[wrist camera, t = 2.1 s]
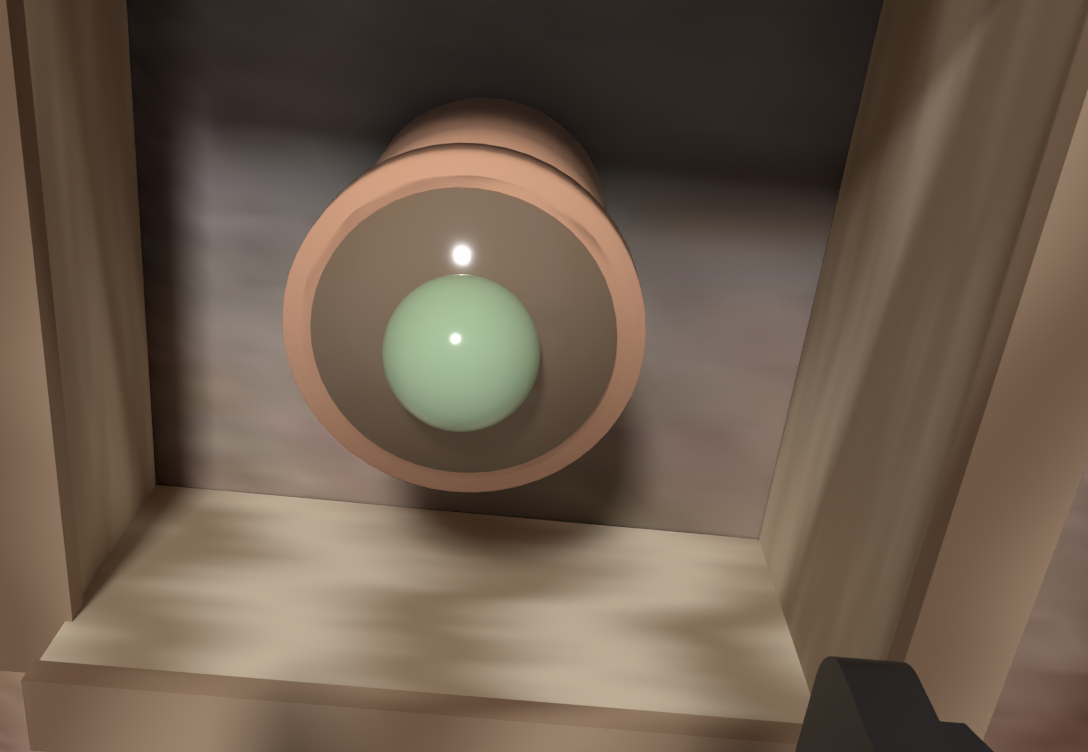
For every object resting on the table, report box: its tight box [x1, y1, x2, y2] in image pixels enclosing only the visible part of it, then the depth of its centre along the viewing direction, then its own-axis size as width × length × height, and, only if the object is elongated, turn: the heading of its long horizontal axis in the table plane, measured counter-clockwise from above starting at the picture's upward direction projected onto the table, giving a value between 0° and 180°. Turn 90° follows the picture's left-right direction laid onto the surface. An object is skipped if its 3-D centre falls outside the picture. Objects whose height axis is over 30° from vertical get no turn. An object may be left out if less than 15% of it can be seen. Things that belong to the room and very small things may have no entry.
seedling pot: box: [283, 98, 646, 492], centre depth 20 cm, size 6×6×9 cm
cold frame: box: [0, 0, 1088, 752], centre depth 20 cm, size 19×19×10 cm
